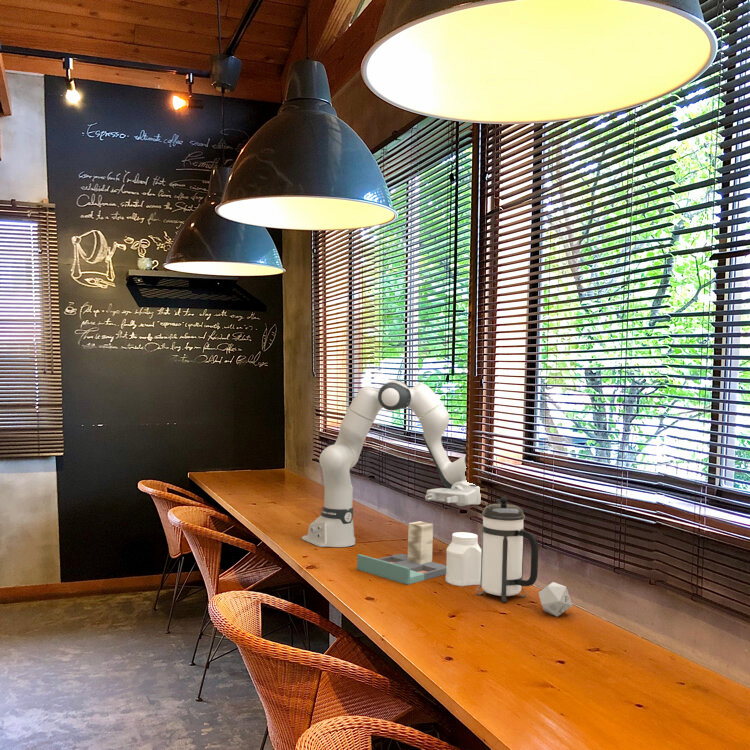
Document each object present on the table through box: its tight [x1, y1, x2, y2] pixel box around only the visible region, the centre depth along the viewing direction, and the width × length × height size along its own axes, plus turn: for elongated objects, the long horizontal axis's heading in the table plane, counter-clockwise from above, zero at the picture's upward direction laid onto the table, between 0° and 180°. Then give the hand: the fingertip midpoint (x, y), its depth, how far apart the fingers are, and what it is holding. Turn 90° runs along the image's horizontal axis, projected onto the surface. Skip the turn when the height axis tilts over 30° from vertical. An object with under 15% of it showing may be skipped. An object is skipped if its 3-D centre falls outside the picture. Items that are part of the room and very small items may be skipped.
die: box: [538, 581, 573, 618], centre depth 197 cm, size 8×9×10 cm
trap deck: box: [356, 553, 446, 586], centre depth 236 cm, size 23×22×5 cm
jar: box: [445, 531, 482, 587], centre depth 226 cm, size 12×10×15 cm
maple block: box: [407, 520, 434, 564], centre depth 242 cm, size 6×6×13 cm
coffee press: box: [475, 496, 539, 604], centre depth 211 cm, size 17×16×30 cm
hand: (436, 499), depth 248 cm, fingers open, 8 cm apart
